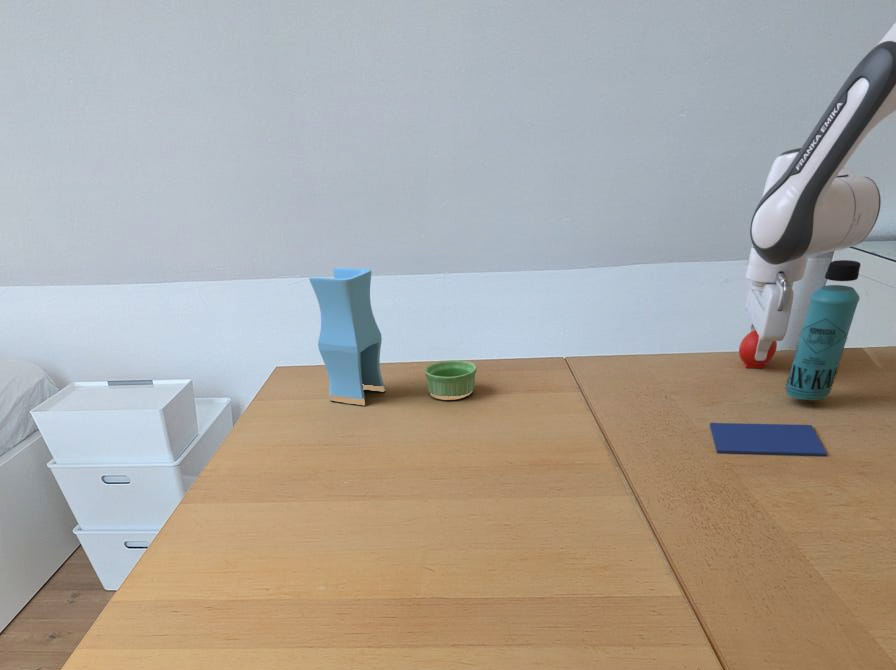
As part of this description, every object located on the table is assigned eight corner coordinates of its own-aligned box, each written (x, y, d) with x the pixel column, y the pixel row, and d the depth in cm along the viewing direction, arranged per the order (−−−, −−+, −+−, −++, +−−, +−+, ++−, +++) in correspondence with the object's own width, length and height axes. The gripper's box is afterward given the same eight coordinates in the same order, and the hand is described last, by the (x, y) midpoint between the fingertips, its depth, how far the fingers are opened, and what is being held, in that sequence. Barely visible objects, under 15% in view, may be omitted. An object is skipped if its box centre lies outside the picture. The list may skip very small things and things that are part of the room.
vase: (350, 386, 130) (335, 267, 117) (386, 391, 126) (375, 269, 114) (326, 401, 124) (308, 278, 112) (363, 406, 121) (349, 280, 109)
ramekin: (468, 382, 127) (468, 357, 125) (483, 398, 120) (482, 372, 118) (421, 388, 126) (419, 364, 124) (432, 405, 119) (431, 379, 117)
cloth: (810, 427, 102) (811, 424, 102) (825, 456, 95) (826, 453, 95) (709, 425, 105) (710, 422, 105) (716, 453, 98) (717, 450, 98)
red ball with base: (769, 360, 126) (778, 320, 122) (774, 371, 122) (785, 330, 117) (733, 359, 127) (742, 320, 123) (737, 370, 123) (746, 330, 119)
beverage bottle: (779, 394, 113) (815, 256, 101) (825, 396, 111) (867, 256, 99) (783, 409, 108) (821, 266, 96) (830, 411, 107) (876, 266, 94)
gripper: (810, 280, 106) (786, 372, 115) (786, 252, 121) (766, 336, 130) (765, 281, 107) (745, 372, 116) (747, 253, 123) (730, 336, 131)
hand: (756, 352), depth 123 cm, fingers closed on red ball with base, 6 cm apart
